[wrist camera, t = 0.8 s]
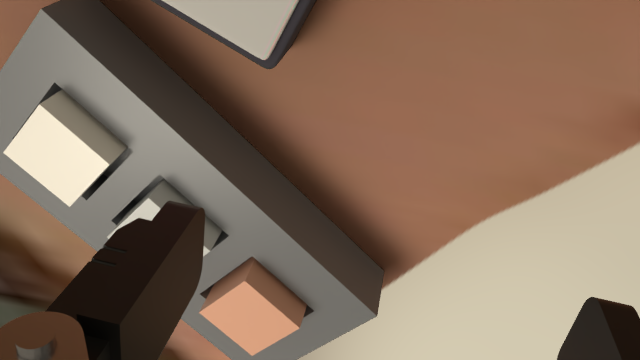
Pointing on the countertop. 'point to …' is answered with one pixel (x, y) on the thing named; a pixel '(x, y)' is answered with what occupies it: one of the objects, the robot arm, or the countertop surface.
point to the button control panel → (246, 24)
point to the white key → (64, 147)
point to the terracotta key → (253, 307)
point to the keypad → (182, 173)
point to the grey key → (156, 201)
